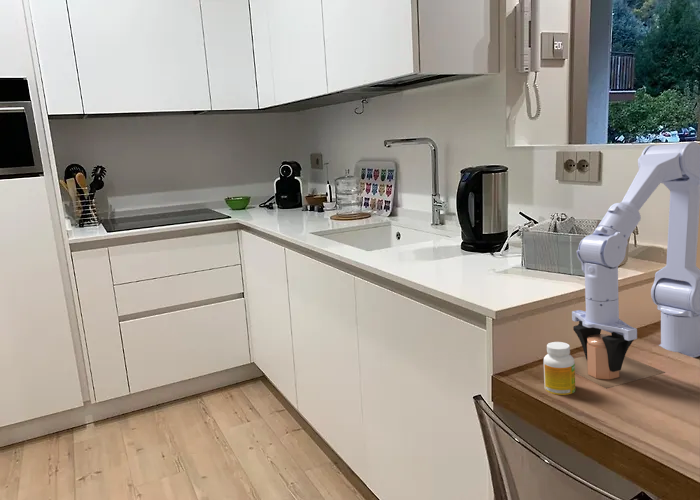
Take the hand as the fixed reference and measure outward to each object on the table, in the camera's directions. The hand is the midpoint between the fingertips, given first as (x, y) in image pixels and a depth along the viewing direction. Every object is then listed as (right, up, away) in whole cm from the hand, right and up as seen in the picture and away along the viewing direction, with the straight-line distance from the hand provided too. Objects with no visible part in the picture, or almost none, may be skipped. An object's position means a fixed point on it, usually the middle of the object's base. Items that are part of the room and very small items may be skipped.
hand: (603, 364), depth 104 cm
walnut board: (+3, -2, +3) cm, 5 cm away
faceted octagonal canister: (0, -2, 0) cm, 2 cm away
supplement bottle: (-10, -5, -4) cm, 12 cm away
